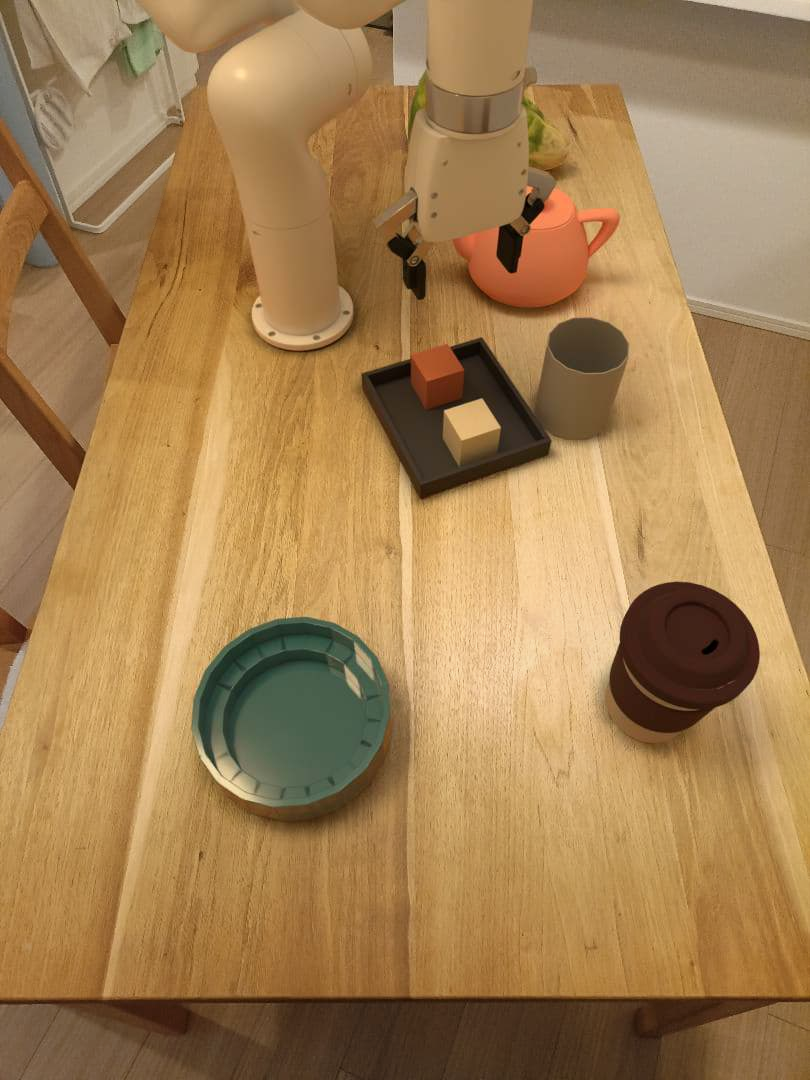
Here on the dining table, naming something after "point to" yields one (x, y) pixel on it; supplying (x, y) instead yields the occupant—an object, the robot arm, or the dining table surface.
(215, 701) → the bowl
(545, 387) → the cup
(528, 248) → the teapot
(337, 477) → the dining table surface
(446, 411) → the block
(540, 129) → the lettuce
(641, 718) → the coffee cup
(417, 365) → the block
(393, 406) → the tray
